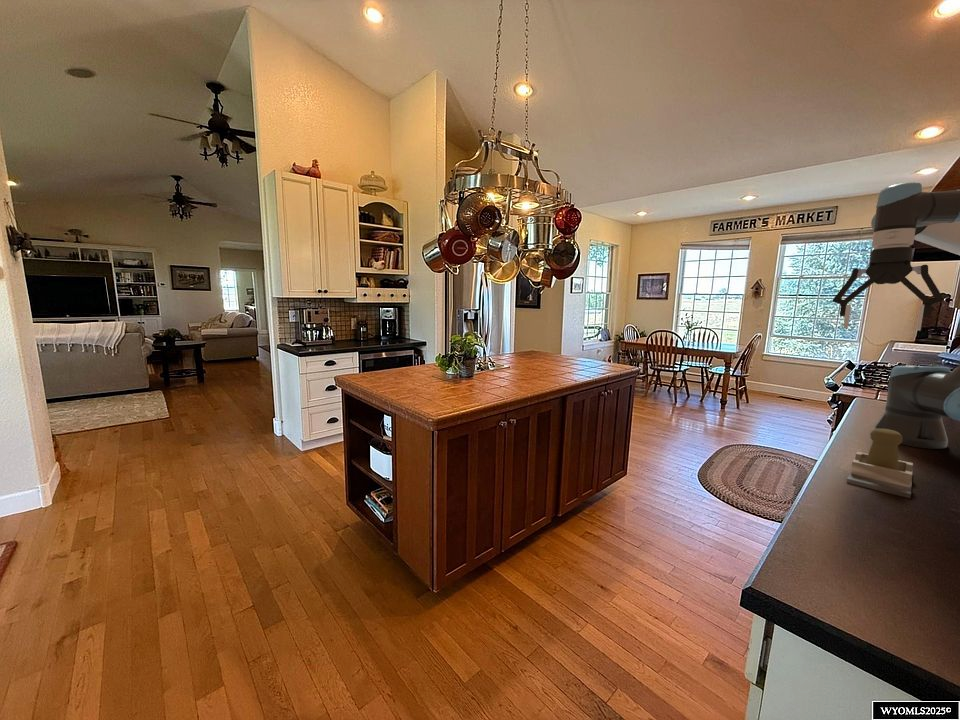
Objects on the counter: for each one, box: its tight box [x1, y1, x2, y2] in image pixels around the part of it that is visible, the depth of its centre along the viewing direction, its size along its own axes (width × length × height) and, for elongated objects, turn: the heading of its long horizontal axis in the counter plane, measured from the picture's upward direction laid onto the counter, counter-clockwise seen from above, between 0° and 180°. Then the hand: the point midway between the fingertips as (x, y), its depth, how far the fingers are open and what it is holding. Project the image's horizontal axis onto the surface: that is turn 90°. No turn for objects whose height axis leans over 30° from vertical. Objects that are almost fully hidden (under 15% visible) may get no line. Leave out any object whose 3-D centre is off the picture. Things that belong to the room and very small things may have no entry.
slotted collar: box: [846, 451, 914, 499], centre depth 92 cm, size 18×10×4 cm, turn 131°
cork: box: [865, 428, 902, 471], centre depth 92 cm, size 6×6×11 cm
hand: (880, 329), depth 104 cm, fingers open, 13 cm apart
